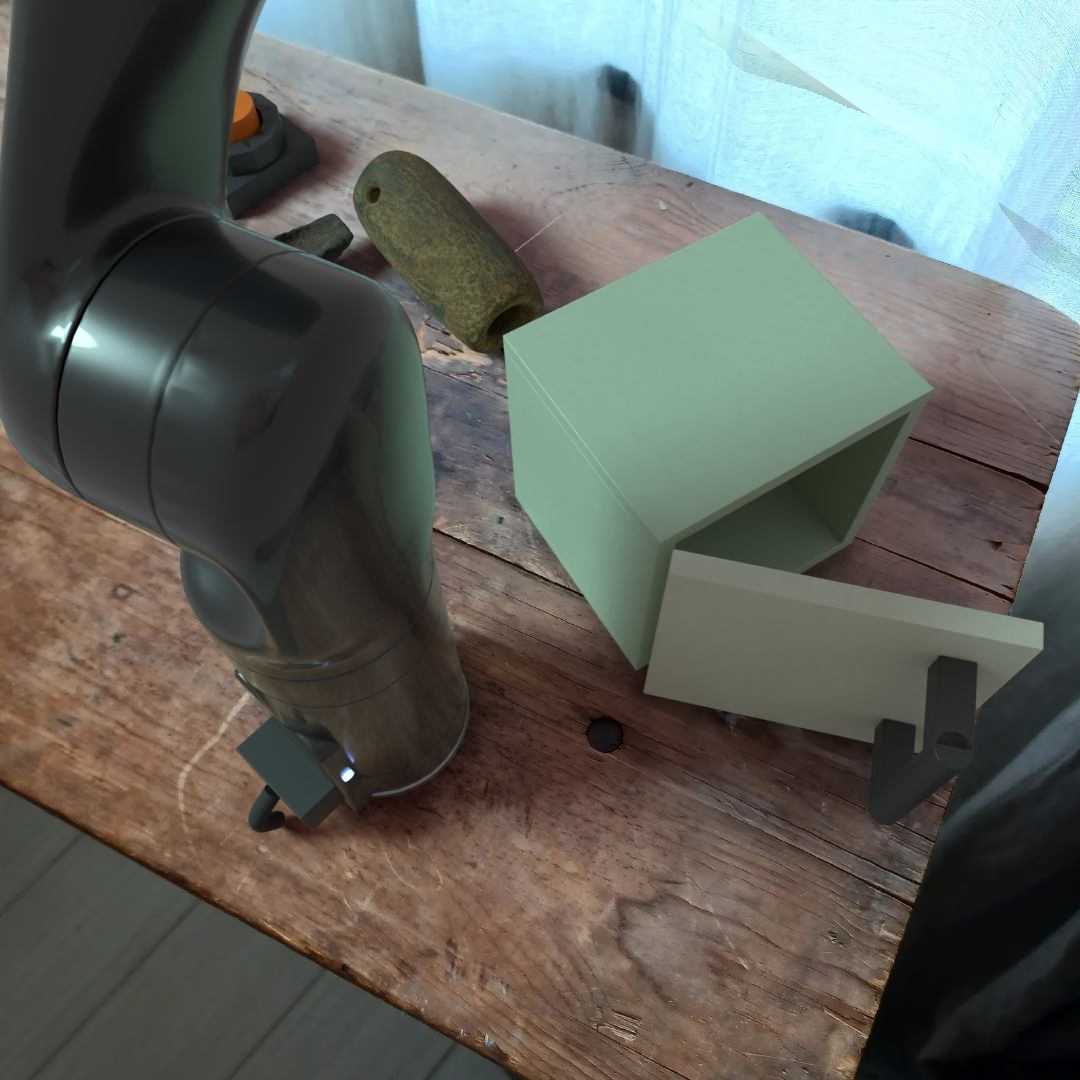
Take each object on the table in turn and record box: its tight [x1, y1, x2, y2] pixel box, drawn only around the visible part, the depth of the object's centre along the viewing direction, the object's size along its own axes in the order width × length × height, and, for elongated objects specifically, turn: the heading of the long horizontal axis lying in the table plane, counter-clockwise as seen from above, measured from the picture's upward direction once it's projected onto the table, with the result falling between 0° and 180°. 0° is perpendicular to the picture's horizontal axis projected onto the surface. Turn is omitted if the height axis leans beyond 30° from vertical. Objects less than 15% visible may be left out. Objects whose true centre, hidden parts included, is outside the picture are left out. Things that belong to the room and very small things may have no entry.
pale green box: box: [503, 210, 935, 671], centre depth 54 cm, size 13×15×15 cm
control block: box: [226, 90, 321, 221], centre depth 73 cm, size 8×7×4 cm
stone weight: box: [352, 149, 545, 354], centre depth 66 cm, size 15×7×7 cm, turn 40°
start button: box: [230, 89, 260, 144], centre depth 71 cm, size 4×4×2 cm
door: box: [642, 549, 1045, 826], centre depth 47 cm, size 6×15×15 cm, turn 77°
